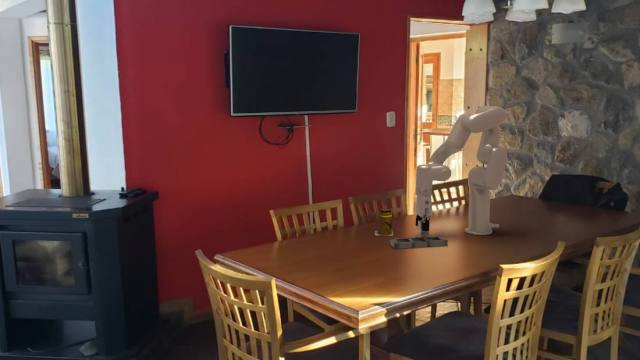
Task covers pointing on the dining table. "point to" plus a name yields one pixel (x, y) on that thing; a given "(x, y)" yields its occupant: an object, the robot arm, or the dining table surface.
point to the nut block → (420, 232)
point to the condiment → (385, 223)
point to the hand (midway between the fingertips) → (422, 228)
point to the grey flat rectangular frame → (418, 242)
